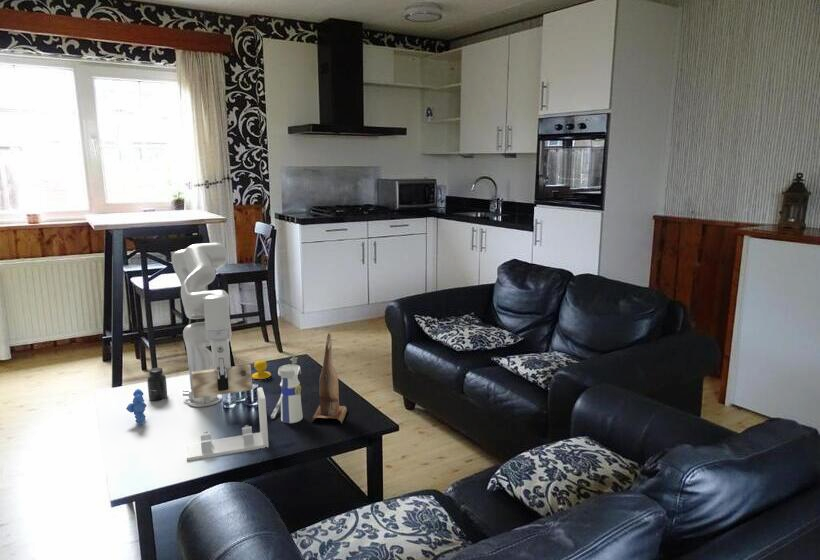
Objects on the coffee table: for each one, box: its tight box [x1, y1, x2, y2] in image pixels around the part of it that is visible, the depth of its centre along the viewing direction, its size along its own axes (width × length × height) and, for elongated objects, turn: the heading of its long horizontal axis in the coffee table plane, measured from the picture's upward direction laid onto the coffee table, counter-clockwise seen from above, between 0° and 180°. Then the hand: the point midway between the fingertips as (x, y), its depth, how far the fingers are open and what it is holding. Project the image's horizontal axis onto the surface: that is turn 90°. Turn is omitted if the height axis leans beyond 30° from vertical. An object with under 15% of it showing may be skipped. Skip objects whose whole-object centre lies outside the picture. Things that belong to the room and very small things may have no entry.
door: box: [192, 364, 253, 398], centre depth 189 cm, size 18×3×8 cm, turn 110°
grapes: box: [125, 388, 147, 425], centre depth 210 cm, size 12×7×12 cm, turn 24°
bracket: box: [270, 396, 281, 420], centre depth 223 cm, size 3×21×10 cm, turn 173°
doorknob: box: [251, 359, 272, 380], centre depth 254 cm, size 8×8×8 cm
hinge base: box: [186, 386, 270, 461], centre depth 190 cm, size 25×10×17 cm, turn 110°
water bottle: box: [277, 355, 303, 424], centre depth 210 cm, size 8×9×25 cm
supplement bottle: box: [146, 367, 168, 402], centre depth 232 cm, size 7×7×12 cm
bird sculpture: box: [311, 332, 348, 424], centre depth 210 cm, size 11×12×32 cm
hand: (223, 387), depth 190 cm, fingers closed on door, 2 cm apart
